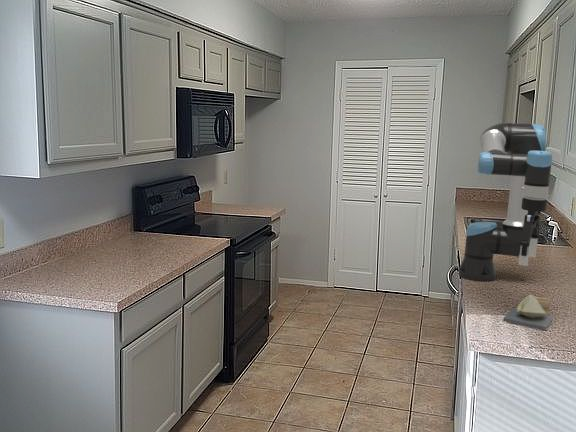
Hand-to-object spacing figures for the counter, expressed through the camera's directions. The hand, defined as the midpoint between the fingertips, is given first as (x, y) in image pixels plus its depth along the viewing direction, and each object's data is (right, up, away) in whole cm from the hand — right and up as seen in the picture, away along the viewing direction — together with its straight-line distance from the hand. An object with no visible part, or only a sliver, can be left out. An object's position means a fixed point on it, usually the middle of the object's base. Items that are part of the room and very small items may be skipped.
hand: (527, 260), depth 192 cm
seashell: (0, -19, -2) cm, 19 cm away
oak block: (+7, -19, +7) cm, 21 cm away
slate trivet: (0, -20, -1) cm, 20 cm away
